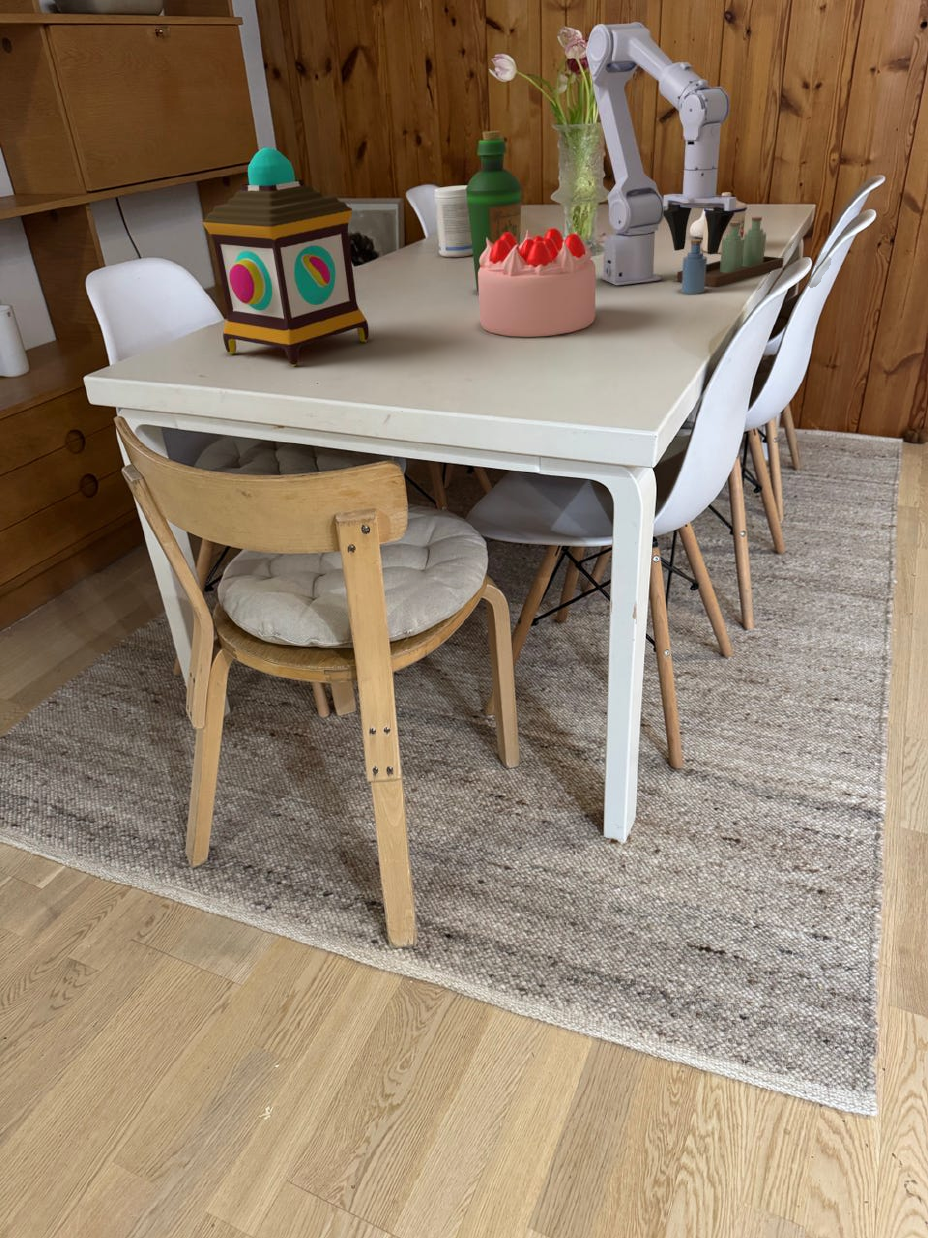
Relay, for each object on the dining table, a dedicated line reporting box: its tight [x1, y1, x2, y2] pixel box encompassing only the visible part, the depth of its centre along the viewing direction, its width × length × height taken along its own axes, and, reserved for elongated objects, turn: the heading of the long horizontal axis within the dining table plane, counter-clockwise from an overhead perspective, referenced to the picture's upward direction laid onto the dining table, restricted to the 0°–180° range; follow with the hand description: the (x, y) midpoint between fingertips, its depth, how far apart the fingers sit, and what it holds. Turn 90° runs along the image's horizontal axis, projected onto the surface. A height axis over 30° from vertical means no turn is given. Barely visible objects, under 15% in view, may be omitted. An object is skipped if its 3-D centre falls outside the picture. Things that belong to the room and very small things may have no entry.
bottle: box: [466, 130, 522, 293], centre depth 172 cm, size 11×11×28 cm
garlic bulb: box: [689, 208, 705, 239], centre depth 214 cm, size 6×6×8 cm
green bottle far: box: [742, 215, 767, 267], centre depth 180 cm, size 4×4×9 cm
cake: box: [478, 227, 597, 338], centre depth 152 cm, size 20×20×14 cm
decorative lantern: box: [202, 146, 370, 367], centre depth 144 cm, size 20×20×30 cm
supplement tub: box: [434, 184, 473, 258], centre depth 214 cm, size 10×10×15 cm
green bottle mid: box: [720, 222, 745, 273], centre depth 176 cm, size 4×4×9 cm
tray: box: [676, 255, 785, 288], centre depth 178 cm, size 21×9×2 cm, turn 129°
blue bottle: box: [680, 238, 708, 295], centre depth 166 cm, size 4×4×9 cm
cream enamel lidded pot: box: [701, 191, 748, 254], centre depth 199 cm, size 12×9×12 cm
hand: (695, 251), depth 164 cm, fingers open, 7 cm apart
